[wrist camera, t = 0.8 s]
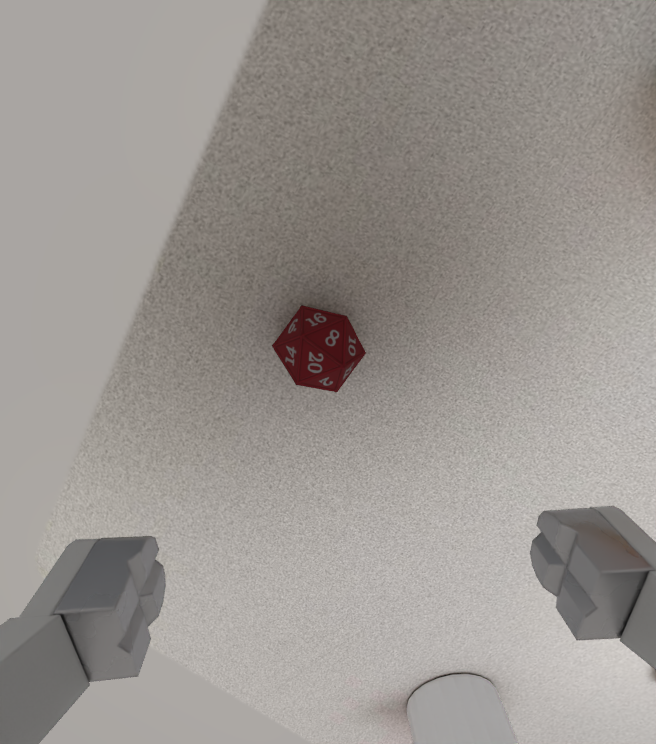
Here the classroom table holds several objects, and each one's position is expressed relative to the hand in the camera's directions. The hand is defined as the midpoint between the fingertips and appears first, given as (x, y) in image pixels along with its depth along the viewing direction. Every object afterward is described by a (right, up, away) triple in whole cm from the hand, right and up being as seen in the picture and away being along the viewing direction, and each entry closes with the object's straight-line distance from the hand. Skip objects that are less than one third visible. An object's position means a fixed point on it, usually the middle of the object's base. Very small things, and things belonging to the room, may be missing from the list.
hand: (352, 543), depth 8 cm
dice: (-1, +6, +12) cm, 14 cm away
